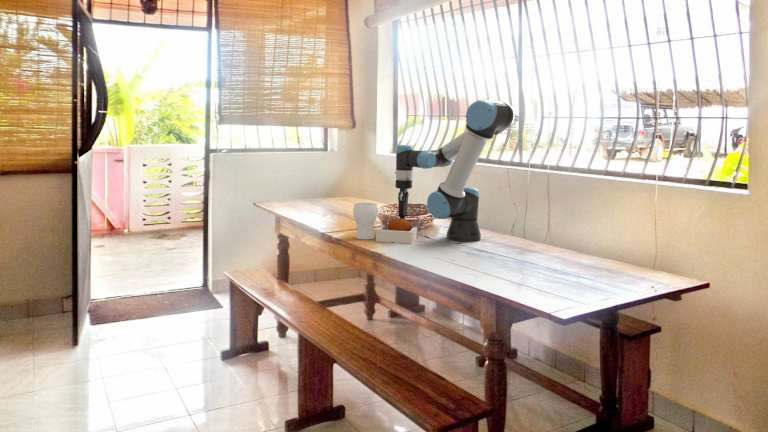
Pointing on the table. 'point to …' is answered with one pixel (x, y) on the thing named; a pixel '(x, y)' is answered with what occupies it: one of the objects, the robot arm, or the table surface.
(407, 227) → the fruit
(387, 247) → the table surface
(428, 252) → the table surface
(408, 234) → the frame
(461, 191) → the robot arm
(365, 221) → the cup
